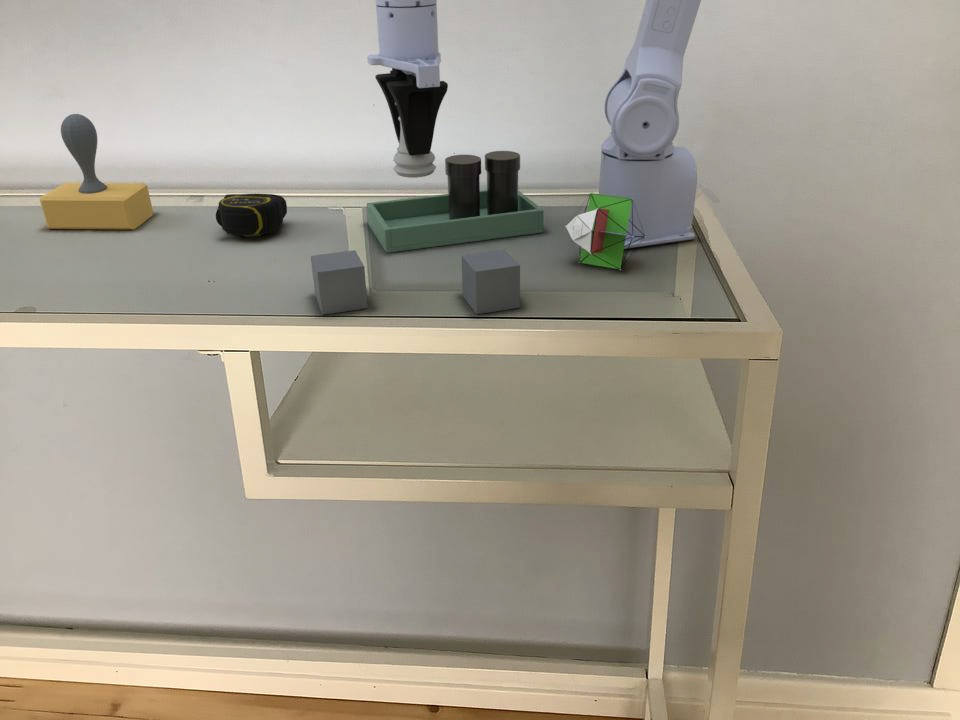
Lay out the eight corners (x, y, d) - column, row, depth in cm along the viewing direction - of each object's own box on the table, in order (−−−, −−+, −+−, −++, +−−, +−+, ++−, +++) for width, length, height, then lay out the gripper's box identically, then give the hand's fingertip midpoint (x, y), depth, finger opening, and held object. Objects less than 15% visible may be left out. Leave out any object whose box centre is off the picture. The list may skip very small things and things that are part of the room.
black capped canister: (512, 210, 92) (512, 149, 89) (524, 221, 89) (525, 157, 85) (480, 214, 91) (480, 152, 88) (492, 225, 88) (491, 161, 84)
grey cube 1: (359, 290, 74) (355, 249, 72) (368, 308, 71) (364, 265, 69) (315, 297, 73) (310, 255, 71) (322, 315, 70) (317, 272, 68)
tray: (513, 207, 95) (513, 186, 94) (543, 232, 87) (543, 210, 86) (368, 224, 90) (366, 202, 89) (386, 253, 82) (384, 229, 81)
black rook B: (475, 215, 91) (474, 153, 87) (486, 226, 88) (485, 161, 84) (443, 219, 90) (440, 156, 86) (453, 230, 87) (450, 165, 83)
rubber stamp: (46, 229, 90) (14, 120, 84) (72, 213, 95) (44, 108, 89) (133, 230, 90) (107, 120, 84) (154, 213, 95) (131, 108, 89)
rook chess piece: (387, 177, 83) (381, 96, 79) (401, 165, 86) (396, 87, 83) (429, 179, 82) (425, 97, 78) (441, 167, 86) (438, 88, 82)
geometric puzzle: (591, 217, 84) (574, 171, 77) (656, 226, 81) (645, 179, 74) (569, 277, 82) (550, 236, 75) (635, 289, 79) (621, 247, 72)
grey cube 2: (504, 290, 74) (504, 249, 72) (519, 307, 71) (520, 265, 69) (462, 296, 73) (461, 254, 71) (476, 314, 70) (475, 271, 68)
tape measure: (291, 221, 92) (286, 189, 90) (276, 242, 86) (271, 208, 84) (231, 221, 92) (225, 189, 90) (212, 243, 86) (206, 208, 84)
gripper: (350, 0, 81) (361, 136, 88) (381, 14, 69) (391, 171, 76) (418, -3, 83) (424, 130, 90) (460, 10, 71) (463, 164, 78)
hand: (414, 149), depth 83 cm, fingers closed on rook chess piece, 3 cm apart
